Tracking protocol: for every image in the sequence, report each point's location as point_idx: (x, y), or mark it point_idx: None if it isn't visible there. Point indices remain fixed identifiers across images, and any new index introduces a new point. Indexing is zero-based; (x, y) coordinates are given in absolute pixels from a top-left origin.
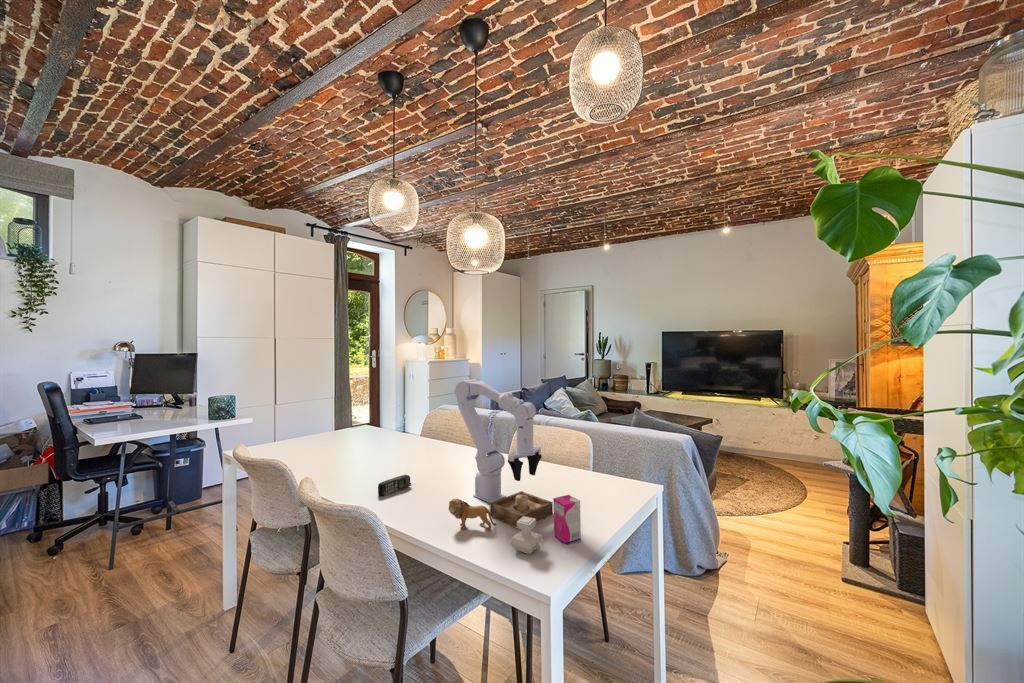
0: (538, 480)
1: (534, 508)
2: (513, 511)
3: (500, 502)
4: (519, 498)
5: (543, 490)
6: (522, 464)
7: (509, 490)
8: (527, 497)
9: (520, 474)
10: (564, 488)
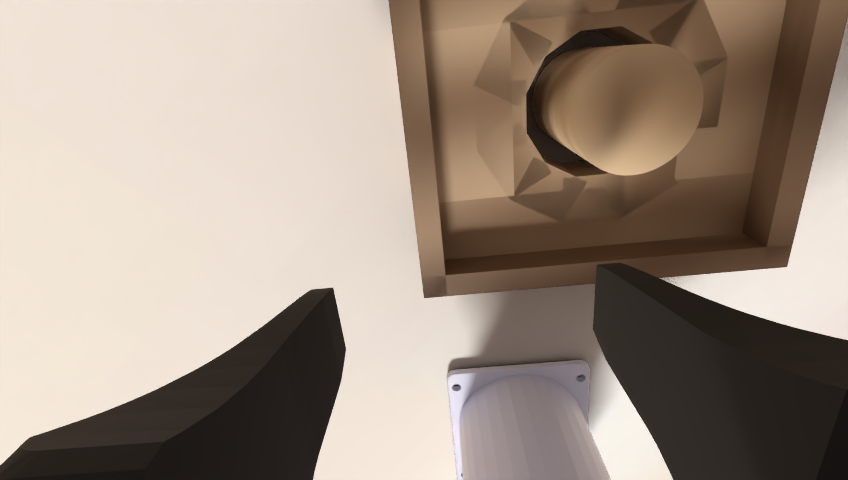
0: None
1: (535, 10)
2: (821, 1)
3: (691, 247)
4: (683, 98)
5: (170, 311)
6: (791, 369)
7: (361, 426)
8: (607, 62)
9: (649, 292)
10: (5, 249)
